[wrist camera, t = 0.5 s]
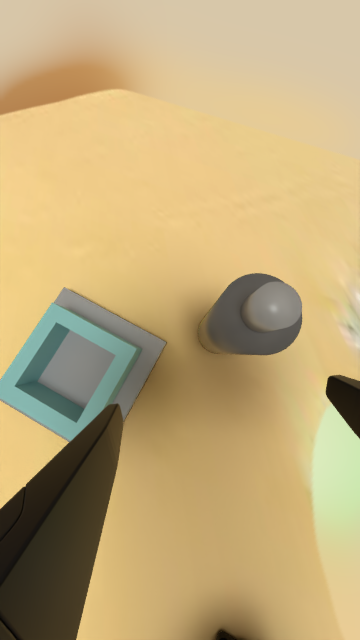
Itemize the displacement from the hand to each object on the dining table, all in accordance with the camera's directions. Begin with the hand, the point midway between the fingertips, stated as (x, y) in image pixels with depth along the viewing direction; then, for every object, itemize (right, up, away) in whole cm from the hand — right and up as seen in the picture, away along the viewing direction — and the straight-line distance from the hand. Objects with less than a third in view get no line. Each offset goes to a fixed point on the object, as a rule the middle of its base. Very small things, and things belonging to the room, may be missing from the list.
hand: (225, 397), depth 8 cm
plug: (+3, +2, +15) cm, 16 cm away
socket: (-13, -2, +14) cm, 19 cm away
